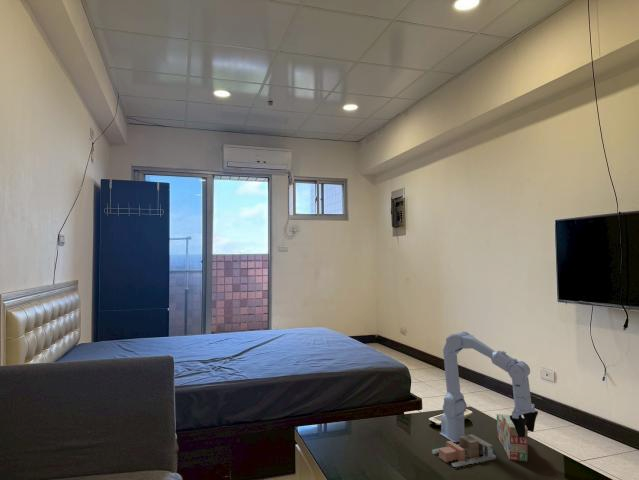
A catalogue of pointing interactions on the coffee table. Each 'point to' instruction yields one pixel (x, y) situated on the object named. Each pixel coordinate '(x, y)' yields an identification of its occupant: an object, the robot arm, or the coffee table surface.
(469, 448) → the block
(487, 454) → the pale grey flat frame
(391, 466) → the coffee table surface
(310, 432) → the coffee table surface
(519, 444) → the stack of blocks
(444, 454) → the block
